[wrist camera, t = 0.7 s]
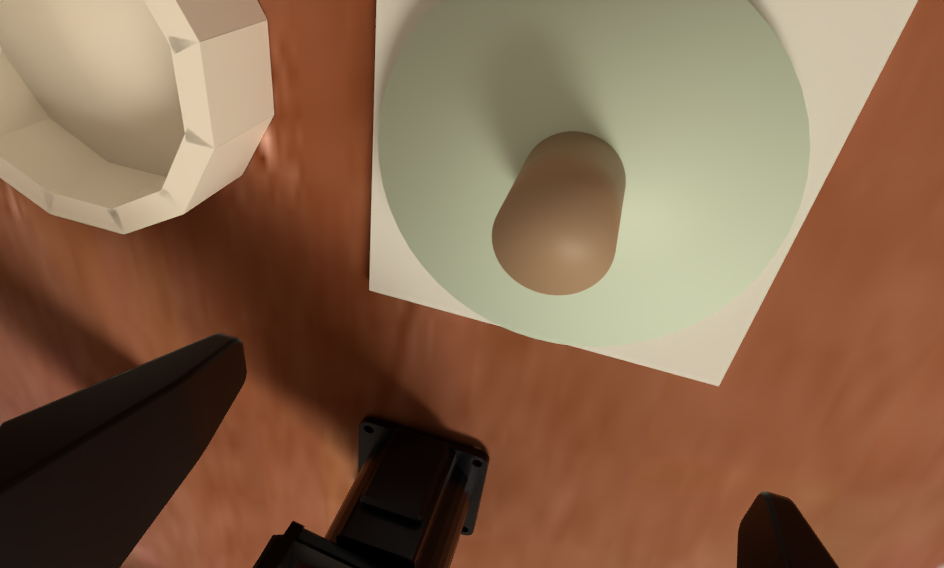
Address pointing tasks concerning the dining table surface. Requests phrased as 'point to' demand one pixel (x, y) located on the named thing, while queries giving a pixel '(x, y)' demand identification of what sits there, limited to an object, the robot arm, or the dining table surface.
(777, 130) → the lid
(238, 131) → the bowl
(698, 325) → the mat
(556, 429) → the dining table surface
